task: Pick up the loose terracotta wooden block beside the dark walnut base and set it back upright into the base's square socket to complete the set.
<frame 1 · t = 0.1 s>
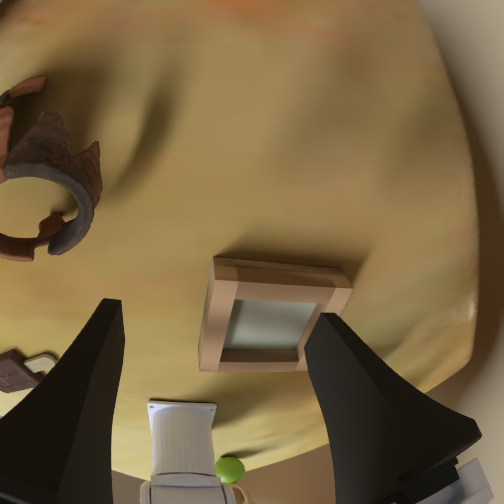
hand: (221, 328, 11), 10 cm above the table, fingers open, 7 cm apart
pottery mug: (32, 154, 15), on the table
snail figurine: (229, 455, 45), on the table
walnut base: (265, 312, 25), on the table
ice cream bar: (19, 363, 26), on the table
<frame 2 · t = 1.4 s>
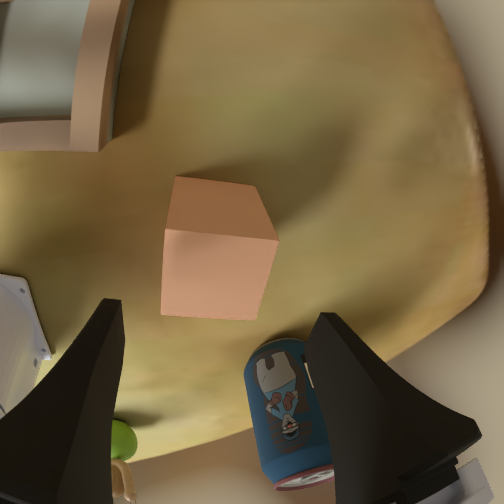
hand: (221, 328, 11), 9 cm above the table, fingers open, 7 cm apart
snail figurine: (119, 419, 30), on the table
walnut base: (41, 53, 10), on the table
terracotta block: (209, 216, 18), on the table
soda can: (279, 355, 27), on the table
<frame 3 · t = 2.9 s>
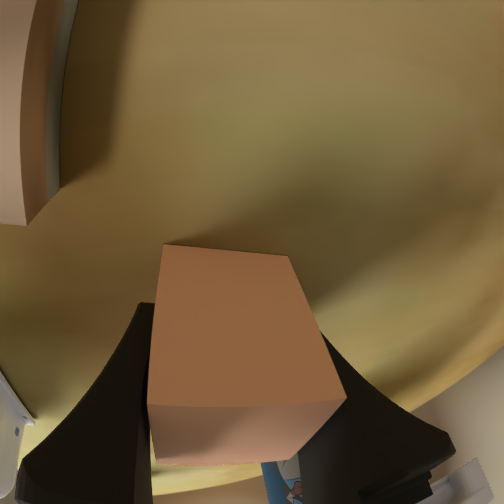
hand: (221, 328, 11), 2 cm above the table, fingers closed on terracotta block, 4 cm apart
terracotta block: (218, 298, 12), on the table, touching gripper
soda can: (298, 423, 21), on the table
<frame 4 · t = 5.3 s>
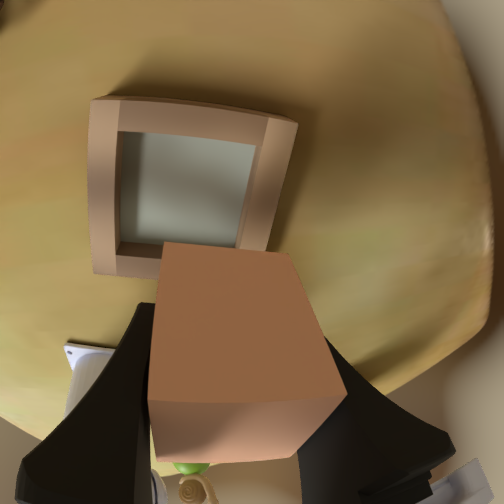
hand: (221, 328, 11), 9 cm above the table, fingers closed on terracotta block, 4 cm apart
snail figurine: (192, 440, 37), on the table
walnut base: (182, 186, 17), on the table
terracotta block: (218, 295, 12), point 8 cm above the table, touching gripper
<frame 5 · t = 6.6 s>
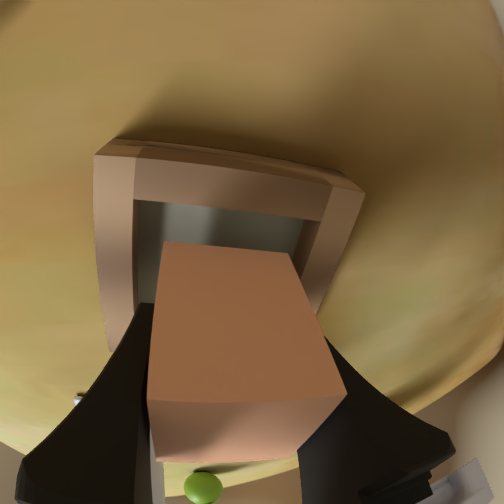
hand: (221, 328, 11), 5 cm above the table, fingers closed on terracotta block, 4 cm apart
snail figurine: (204, 470, 35), on the table
walnut base: (213, 252, 15), on the table
terracotta block: (218, 295, 12), point 3 cm above the table, touching gripper
when the fingers open (4 cm above the table, at t = 7.7 s): terracotta block drops 1 cm, resting on walnut base.
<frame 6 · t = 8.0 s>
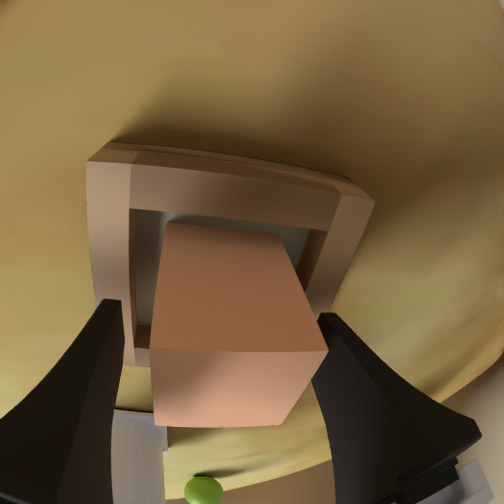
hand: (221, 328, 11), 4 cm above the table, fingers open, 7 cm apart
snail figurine: (204, 474, 34), on the table
walnut base: (214, 261, 14), on the table
terracotta block: (215, 273, 13), point 1 cm above the table, touching walnut base
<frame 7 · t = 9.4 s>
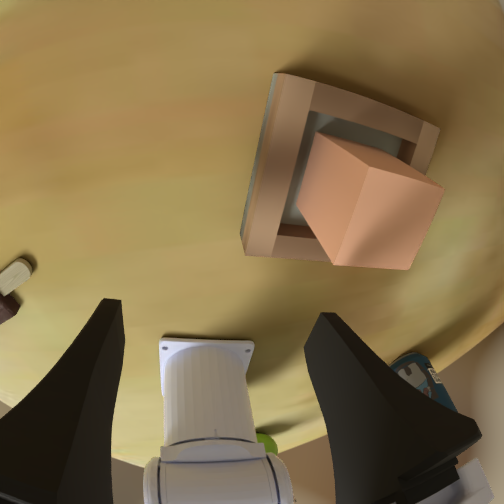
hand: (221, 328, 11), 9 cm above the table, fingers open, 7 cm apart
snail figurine: (257, 432, 38), on the table
walnut base: (334, 171, 18), on the table
terracotta block: (340, 175, 17), point 1 cm above the table, touching walnut base
soda can: (400, 365, 34), on the table
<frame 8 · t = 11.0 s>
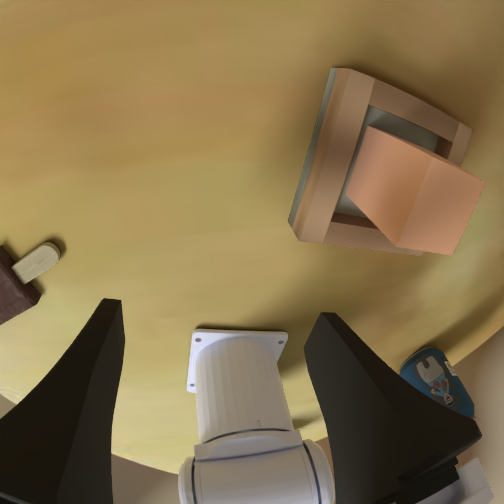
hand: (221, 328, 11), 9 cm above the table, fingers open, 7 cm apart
walnut base: (377, 164, 18), on the table
ice cream bar: (7, 278, 19), on the table
terracotta block: (385, 168, 17), point 1 cm above the table, touching walnut base
soda can: (416, 359, 34), on the table
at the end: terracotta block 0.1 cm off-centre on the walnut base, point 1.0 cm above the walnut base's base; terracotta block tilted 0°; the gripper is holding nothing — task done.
